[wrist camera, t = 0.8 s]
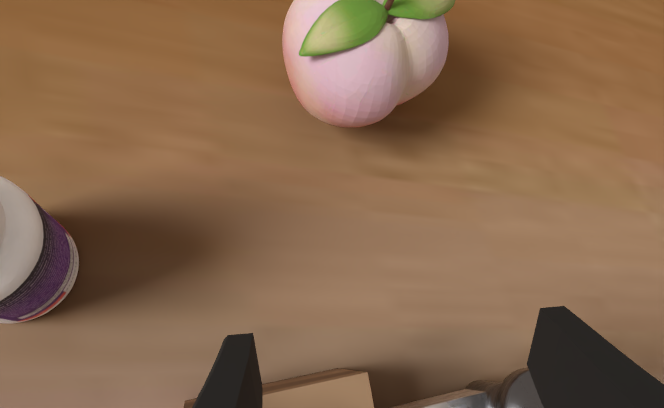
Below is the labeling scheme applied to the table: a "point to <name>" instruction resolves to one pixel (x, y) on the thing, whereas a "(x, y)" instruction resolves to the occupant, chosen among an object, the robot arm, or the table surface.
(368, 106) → the decorative fruit
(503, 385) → the handle rod
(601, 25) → the table surface
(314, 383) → the wooden mallet head
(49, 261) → the pill bottle
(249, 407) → the robot arm
